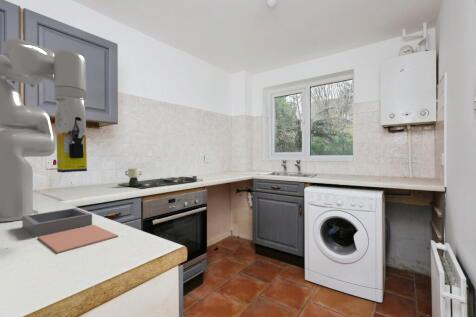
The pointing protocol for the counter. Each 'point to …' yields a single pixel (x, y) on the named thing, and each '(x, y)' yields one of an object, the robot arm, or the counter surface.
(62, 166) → the supplement box
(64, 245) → the mat
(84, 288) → the counter surface
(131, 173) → the character mug
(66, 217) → the tray
